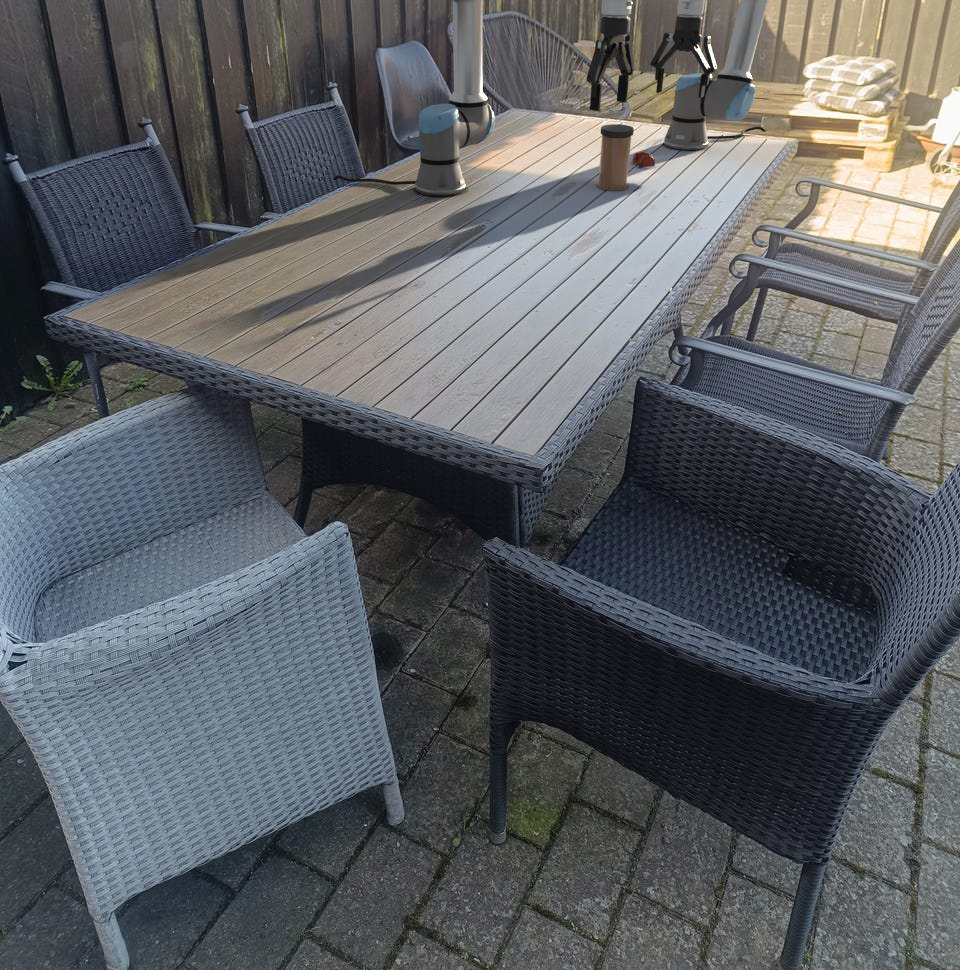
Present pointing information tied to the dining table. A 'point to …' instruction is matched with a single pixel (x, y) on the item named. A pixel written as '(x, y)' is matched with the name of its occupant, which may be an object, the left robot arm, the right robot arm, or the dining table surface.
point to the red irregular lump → (644, 159)
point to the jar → (614, 163)
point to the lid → (617, 131)
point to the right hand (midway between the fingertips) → (679, 94)
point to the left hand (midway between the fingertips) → (608, 106)
